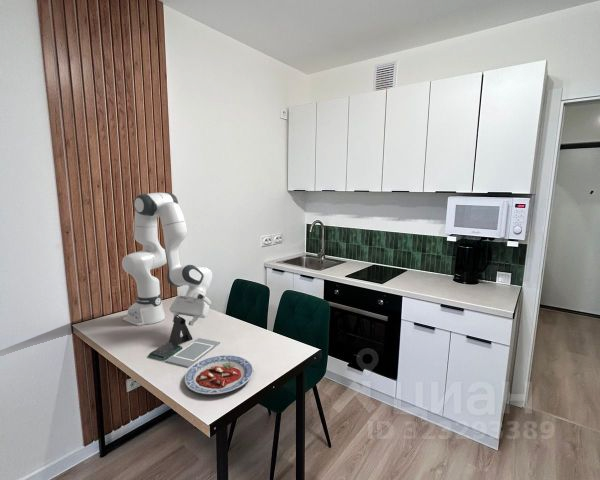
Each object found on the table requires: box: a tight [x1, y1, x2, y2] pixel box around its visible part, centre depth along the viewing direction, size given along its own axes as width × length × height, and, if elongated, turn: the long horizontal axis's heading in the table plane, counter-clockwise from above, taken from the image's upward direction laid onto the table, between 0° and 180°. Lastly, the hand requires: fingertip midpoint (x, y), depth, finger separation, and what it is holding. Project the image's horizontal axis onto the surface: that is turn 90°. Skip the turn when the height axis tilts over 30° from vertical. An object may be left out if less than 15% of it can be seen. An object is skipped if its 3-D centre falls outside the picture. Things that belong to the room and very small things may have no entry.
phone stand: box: [168, 315, 193, 346], centre depth 156 cm, size 9×6×12 cm, turn 137°
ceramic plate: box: [184, 354, 254, 395], centre depth 128 cm, size 26×26×3 cm
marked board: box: [164, 337, 221, 369], centre depth 147 cm, size 12×22×1 cm, turn 159°
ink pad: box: [147, 342, 183, 362], centre depth 146 cm, size 9×11×2 cm
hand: (182, 323), depth 157 cm, fingers open, 8 cm apart
